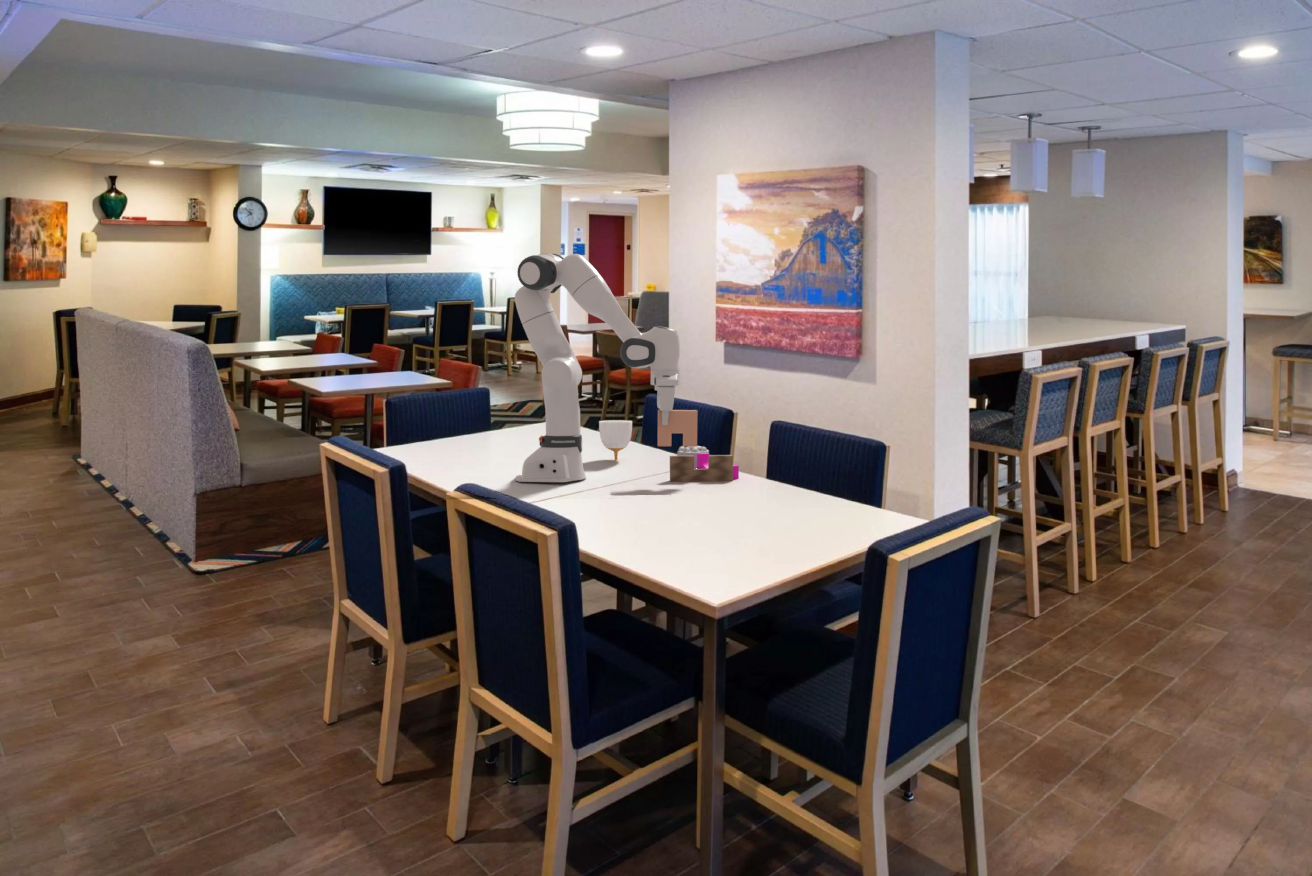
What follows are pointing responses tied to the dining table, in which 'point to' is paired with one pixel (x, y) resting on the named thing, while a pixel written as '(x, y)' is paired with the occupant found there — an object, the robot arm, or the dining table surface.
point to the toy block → (703, 464)
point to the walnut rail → (717, 469)
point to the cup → (615, 434)
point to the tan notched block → (678, 427)
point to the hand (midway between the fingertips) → (664, 424)
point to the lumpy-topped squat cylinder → (692, 452)
